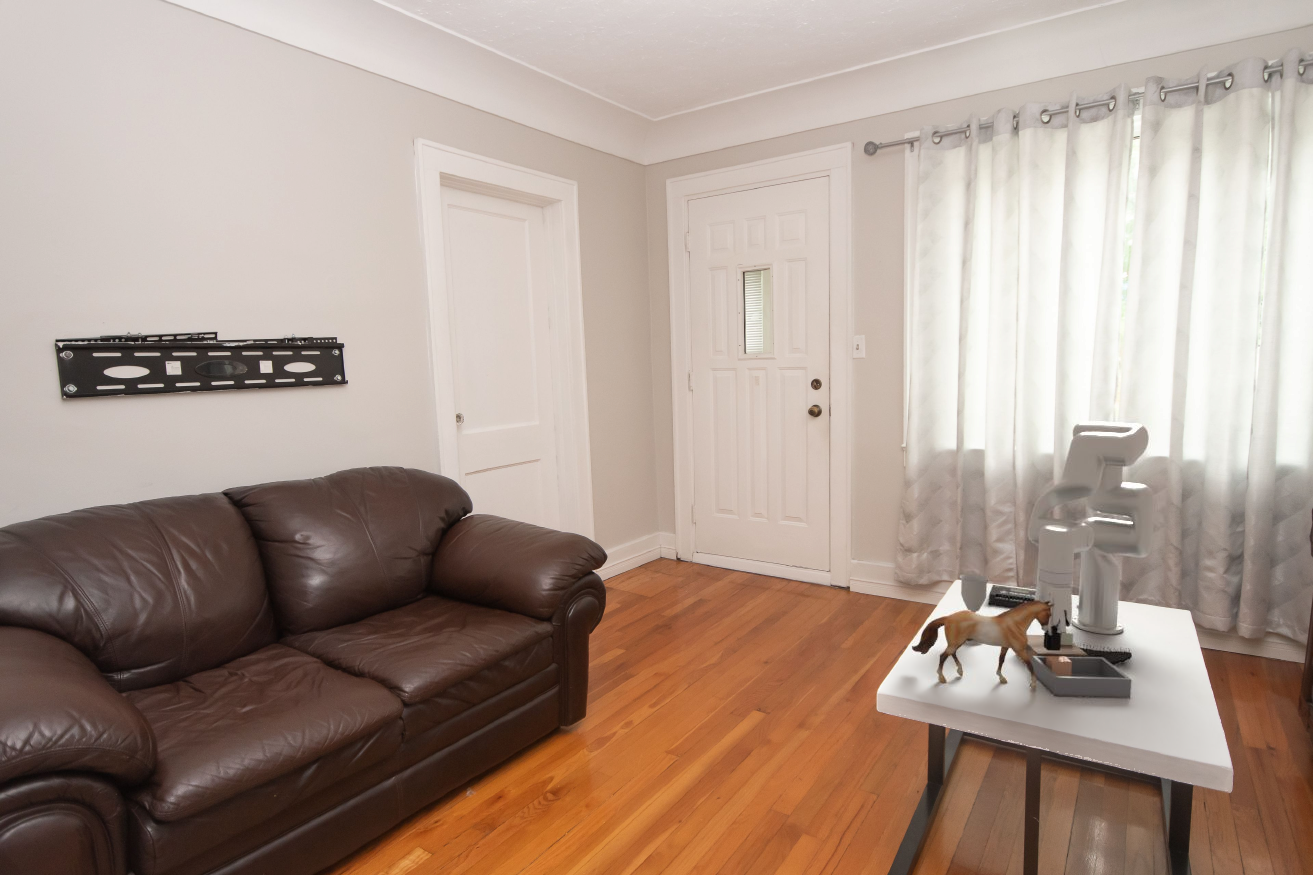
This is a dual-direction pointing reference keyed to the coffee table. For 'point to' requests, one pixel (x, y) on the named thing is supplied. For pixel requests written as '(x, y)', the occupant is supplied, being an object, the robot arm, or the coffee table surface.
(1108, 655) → the hairbrush
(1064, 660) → the peach cube block
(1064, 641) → the pale green cube
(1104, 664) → the box
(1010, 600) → the wireless router
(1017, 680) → the coffee table surface
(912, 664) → the coffee table surface
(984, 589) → the chalice
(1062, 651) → the brown square platform
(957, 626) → the horse figurine
